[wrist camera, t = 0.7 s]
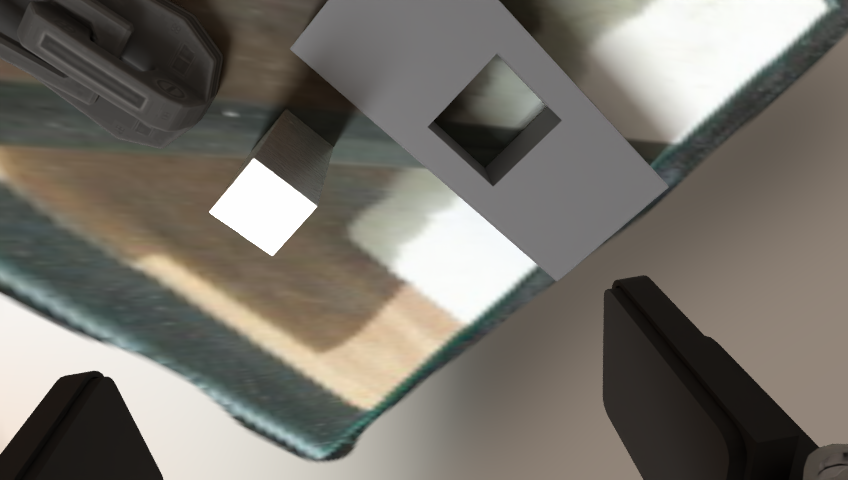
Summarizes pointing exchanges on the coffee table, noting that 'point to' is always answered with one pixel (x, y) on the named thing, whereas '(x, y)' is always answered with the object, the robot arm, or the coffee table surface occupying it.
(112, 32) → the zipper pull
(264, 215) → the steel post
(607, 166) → the grey block with hole
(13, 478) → the robot arm
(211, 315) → the coffee table surface
